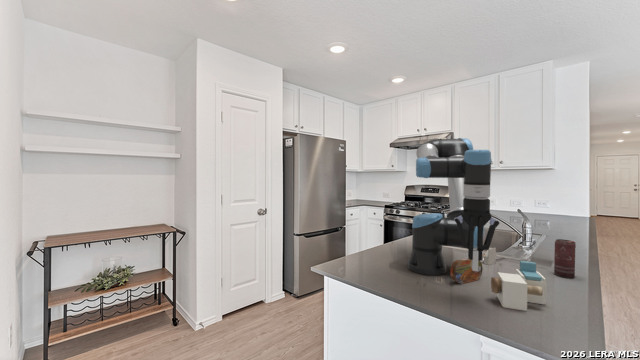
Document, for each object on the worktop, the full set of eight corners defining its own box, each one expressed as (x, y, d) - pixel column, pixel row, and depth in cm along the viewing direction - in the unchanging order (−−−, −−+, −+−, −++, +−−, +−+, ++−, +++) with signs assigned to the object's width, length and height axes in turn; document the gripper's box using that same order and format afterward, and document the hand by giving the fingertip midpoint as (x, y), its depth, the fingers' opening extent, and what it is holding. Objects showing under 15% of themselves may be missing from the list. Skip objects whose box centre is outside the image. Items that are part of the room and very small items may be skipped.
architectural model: (480, 263, 125) (480, 247, 125) (489, 261, 129) (489, 245, 128) (488, 266, 122) (488, 249, 122) (497, 263, 126) (497, 247, 125)
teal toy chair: (526, 279, 87) (526, 267, 87) (519, 271, 93) (519, 260, 93) (541, 280, 85) (541, 268, 85) (533, 273, 92) (534, 262, 92)
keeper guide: (521, 301, 87) (521, 276, 87) (514, 292, 94) (515, 268, 94) (545, 304, 85) (546, 278, 85) (537, 295, 92) (538, 271, 91)
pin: (493, 294, 86) (494, 280, 86) (490, 289, 90) (491, 275, 90) (543, 302, 81) (544, 286, 81) (538, 295, 85) (538, 280, 85)
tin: (455, 285, 99) (455, 262, 99) (448, 282, 102) (448, 260, 102) (483, 279, 106) (483, 257, 105) (475, 276, 108) (476, 255, 108)
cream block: (502, 307, 83) (503, 281, 83) (497, 296, 91) (497, 272, 91) (526, 310, 81) (527, 284, 81) (518, 299, 89) (519, 274, 88)
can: (579, 279, 106) (580, 242, 106) (560, 277, 107) (561, 242, 107) (568, 273, 112) (569, 239, 112) (550, 272, 113) (551, 238, 113)
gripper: (454, 198, 88) (453, 270, 89) (502, 199, 83) (500, 276, 84) (453, 195, 95) (451, 263, 96) (497, 197, 90) (495, 268, 91)
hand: (474, 269), depth 90 cm, fingers closed
